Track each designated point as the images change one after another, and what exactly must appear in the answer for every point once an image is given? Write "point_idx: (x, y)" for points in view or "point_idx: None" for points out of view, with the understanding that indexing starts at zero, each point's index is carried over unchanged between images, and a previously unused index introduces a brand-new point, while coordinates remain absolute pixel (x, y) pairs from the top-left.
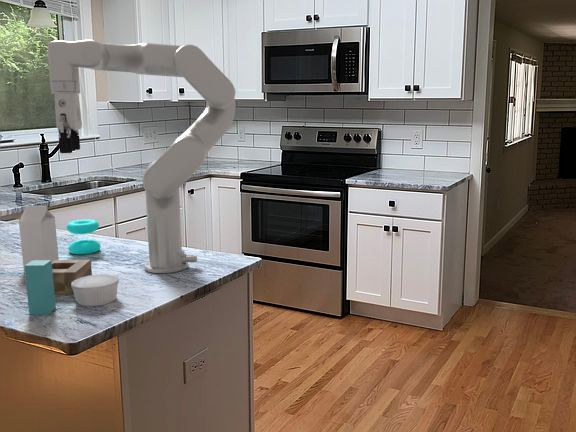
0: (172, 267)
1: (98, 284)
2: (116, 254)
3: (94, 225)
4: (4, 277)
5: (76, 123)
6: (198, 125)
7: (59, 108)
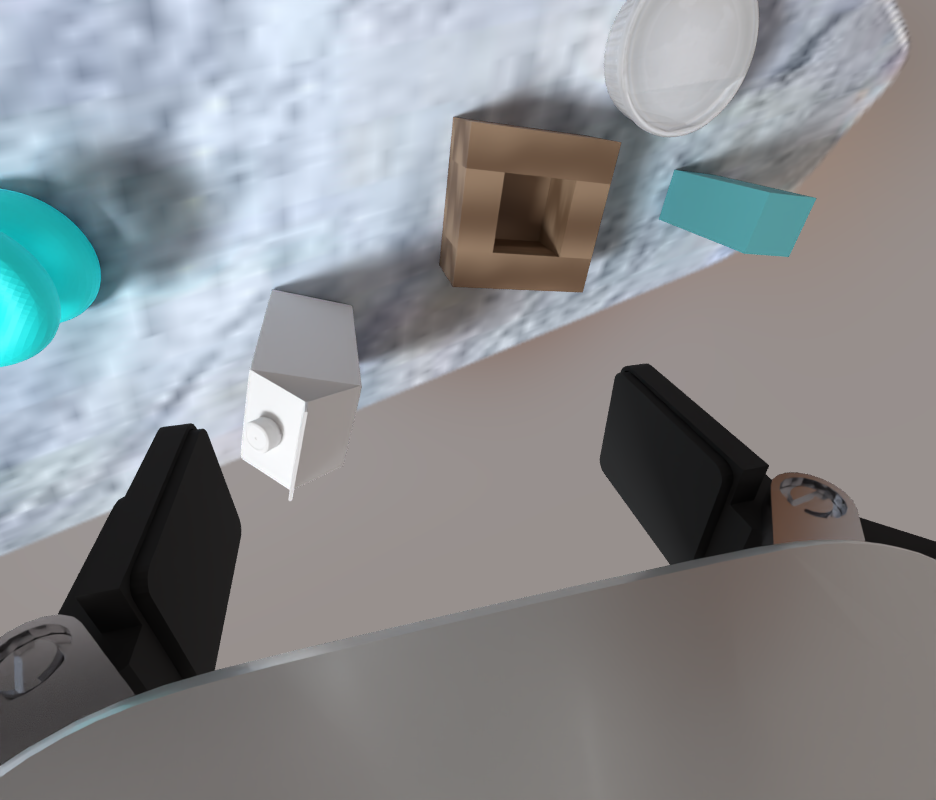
0: None
1: (737, 27)
2: (43, 84)
3: None
4: (391, 395)
5: (921, 696)
6: None
7: None
